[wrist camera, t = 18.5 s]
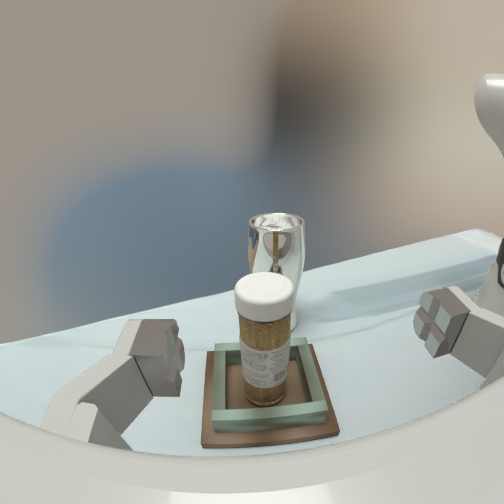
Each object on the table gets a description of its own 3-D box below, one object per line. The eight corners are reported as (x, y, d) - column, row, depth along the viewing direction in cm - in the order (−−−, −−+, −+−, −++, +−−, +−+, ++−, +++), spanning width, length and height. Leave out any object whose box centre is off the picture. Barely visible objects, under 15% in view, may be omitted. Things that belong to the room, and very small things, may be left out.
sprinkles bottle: (269, 369, 30) (270, 264, 24) (295, 394, 26) (307, 286, 21) (235, 387, 27) (223, 280, 22) (259, 415, 24) (256, 308, 18)
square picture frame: (311, 349, 34) (314, 328, 32) (337, 435, 22) (345, 418, 20) (208, 356, 33) (204, 336, 32) (202, 447, 21) (195, 432, 20)
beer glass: (272, 302, 44) (272, 209, 37) (309, 319, 39) (317, 219, 33) (241, 323, 39) (234, 222, 33) (279, 345, 35) (282, 235, 28)
